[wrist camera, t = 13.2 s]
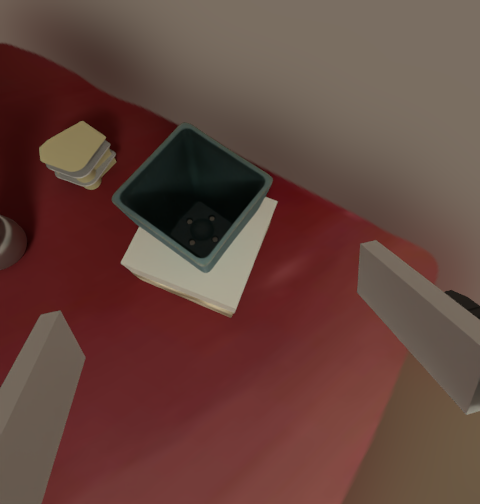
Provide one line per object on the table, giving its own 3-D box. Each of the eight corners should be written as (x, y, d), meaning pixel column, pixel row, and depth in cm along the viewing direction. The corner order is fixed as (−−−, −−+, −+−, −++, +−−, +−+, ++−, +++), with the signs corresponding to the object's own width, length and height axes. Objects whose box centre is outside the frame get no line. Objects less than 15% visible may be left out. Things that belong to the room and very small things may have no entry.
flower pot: (194, 175, 34) (183, 117, 25) (263, 222, 32) (276, 177, 24) (140, 238, 31) (107, 199, 23) (210, 290, 30) (204, 269, 22)
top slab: (133, 273, 35) (120, 263, 31) (178, 182, 38) (172, 162, 34) (234, 313, 34) (235, 308, 30) (271, 217, 38) (277, 201, 33)
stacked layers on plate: (91, 129, 45) (73, 100, 39) (140, 162, 44) (128, 137, 38) (39, 180, 42) (12, 156, 37) (90, 217, 41) (69, 198, 36)
